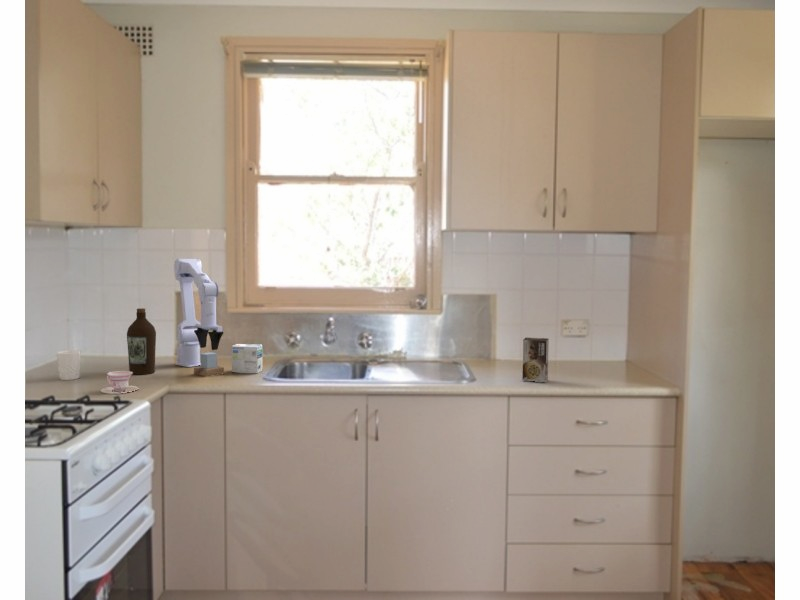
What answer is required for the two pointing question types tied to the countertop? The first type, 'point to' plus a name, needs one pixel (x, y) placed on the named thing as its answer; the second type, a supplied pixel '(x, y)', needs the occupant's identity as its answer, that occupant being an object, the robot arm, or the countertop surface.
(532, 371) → the coffee box
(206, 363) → the blue grey block
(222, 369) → the walnut block
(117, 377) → the teacup
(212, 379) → the countertop surface
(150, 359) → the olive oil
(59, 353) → the white cup
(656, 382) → the countertop surface
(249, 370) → the light bulb box
